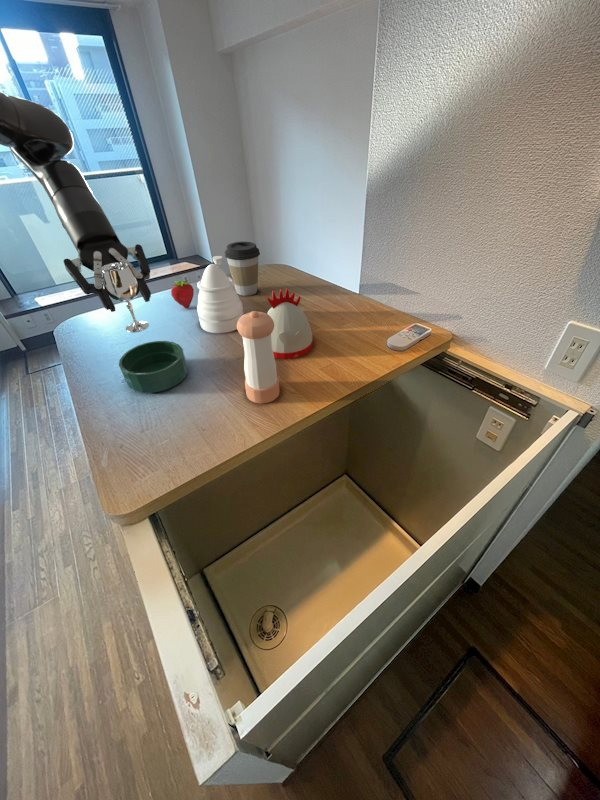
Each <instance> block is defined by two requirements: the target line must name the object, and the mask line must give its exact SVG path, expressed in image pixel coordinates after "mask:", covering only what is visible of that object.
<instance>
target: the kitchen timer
mask: <svg viewBox="0 0 600 800" xmlns="http://www.w3.org/2000/svg"><path fill="white" fill-rule="evenodd" d="M271 291H272V292H271V294H272V298H269V296H266V299H267V301H268V303H269V305H270V308H269V309H268V311H267V312H266V314H268V315H269V316H270V317H271V318H272V319H273V321H274V329H273V331H272V333H271V342H272V351H273V354H274V358H275V359H284V360H288V359H295V358H299V357H302V356H304V355H306V354H307V353H309V352H310V351H311V350H312V347H313V331H312V328H311V325H310V322H309V319H308V317H307V316H306V313H305V312H304V310H303V309H302V308H300V306H299V304H300V301H301V296H300V295H298V296H297V298H296V300H295V296H296V293H295V291H293V292H292V293H291V294H290V292H289V289H288V287H286V288H285V293H284V294H283V290H282V288H280V289H279V292H278V293H279V294H278V297H277V295H276V294H275V291H274V290H271Z"/></svg>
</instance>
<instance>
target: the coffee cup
mask: <svg viewBox="0 0 600 800" xmlns="http://www.w3.org/2000/svg"><path fill="white" fill-rule="evenodd" d="M260 255H261V252H260V249H259V248H258V247H257V244H256V243H255V242H252V241H234V242H231V243H229V244H228V245H226V249H225V250H224V257H225V258H226V260H227V264H228V267H229V270H230V275H231V278H232V279H233V280H234V285H233V287H234V289H235V290H236V292H237V295H238V296H243V297H249V296H252V295H256V293H258V285H259V284H258V283H259V256H260Z"/></svg>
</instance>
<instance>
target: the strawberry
mask: <svg viewBox="0 0 600 800" xmlns="http://www.w3.org/2000/svg"><path fill="white" fill-rule="evenodd" d="M177 278H179V276H178V275H177ZM174 282H175V283H174V284H172V285H171V286H172V288H171V289H170V293H171V294H170V295H171V297H172V299H173V300H174V301H175V302H176V303H178V304H179V306H181V307H182V308H184V309H189V308H190V305H191V304H192V301H193V298H194V295H195V294H194V293H195V290H194V288H193V285H192V284H191V283H189V282H188V280H183V281H182V279H180V280H179V281H178V280H175V281H174Z"/></svg>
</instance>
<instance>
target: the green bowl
mask: <svg viewBox="0 0 600 800" xmlns="http://www.w3.org/2000/svg"><path fill="white" fill-rule="evenodd" d="M118 367H119V369H120V372H121V373H122V375H123V378H124V380H125V382H126V384H127V386H128V388H129V389H131V390H132V391H135V392H138V393H143V394H147V393H148V394H150V393H158V392H163V391H166V390H169V389H171V388H173V387H175V386H177V385H178V384H180V383H181V382H183V380H184V379H185V378H186V377H187V375H188V372H189V365H188V363H187V360H186V356H185V352H184V348H182V346H181V345H180V344H179V343H176V342H174V341H168V340H154V341H149V342H144V343H142V344H138V345H136V346H134V347H132V348H130V349H128V350H127V351H125V353H124V354H122V355H121V357H120V359H119V361H118Z"/></svg>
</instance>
